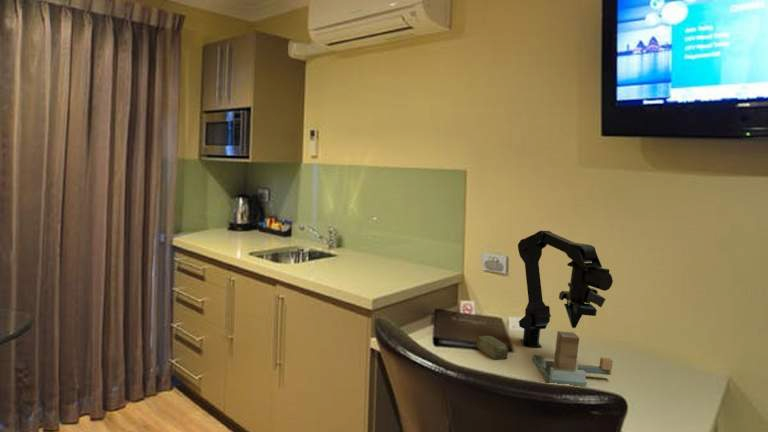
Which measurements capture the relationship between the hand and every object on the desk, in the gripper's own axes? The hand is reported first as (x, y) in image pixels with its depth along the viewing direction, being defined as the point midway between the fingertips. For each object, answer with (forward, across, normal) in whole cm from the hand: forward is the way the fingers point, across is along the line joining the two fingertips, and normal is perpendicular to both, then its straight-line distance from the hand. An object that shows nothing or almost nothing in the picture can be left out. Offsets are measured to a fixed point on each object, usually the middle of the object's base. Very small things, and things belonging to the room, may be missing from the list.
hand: (573, 327), depth 165 cm
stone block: (+13, +3, +25) cm, 29 cm away
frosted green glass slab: (+13, -8, +6) cm, 16 cm away
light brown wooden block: (+11, -10, +1) cm, 15 cm away
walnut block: (+11, -14, +6) cm, 19 cm away
